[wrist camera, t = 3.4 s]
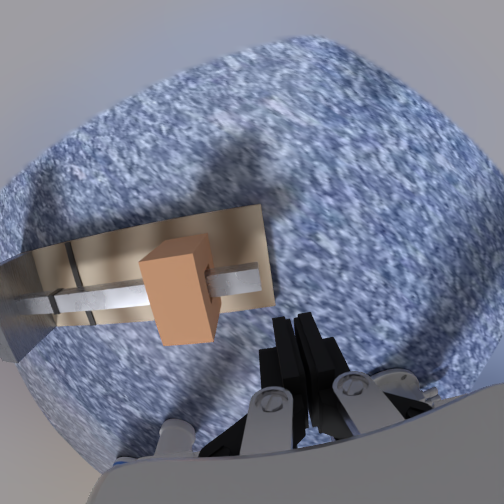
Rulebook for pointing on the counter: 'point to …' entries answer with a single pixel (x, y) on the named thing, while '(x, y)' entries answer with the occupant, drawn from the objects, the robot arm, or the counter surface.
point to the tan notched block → (181, 290)
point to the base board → (142, 243)
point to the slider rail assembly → (83, 299)
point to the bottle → (175, 437)
